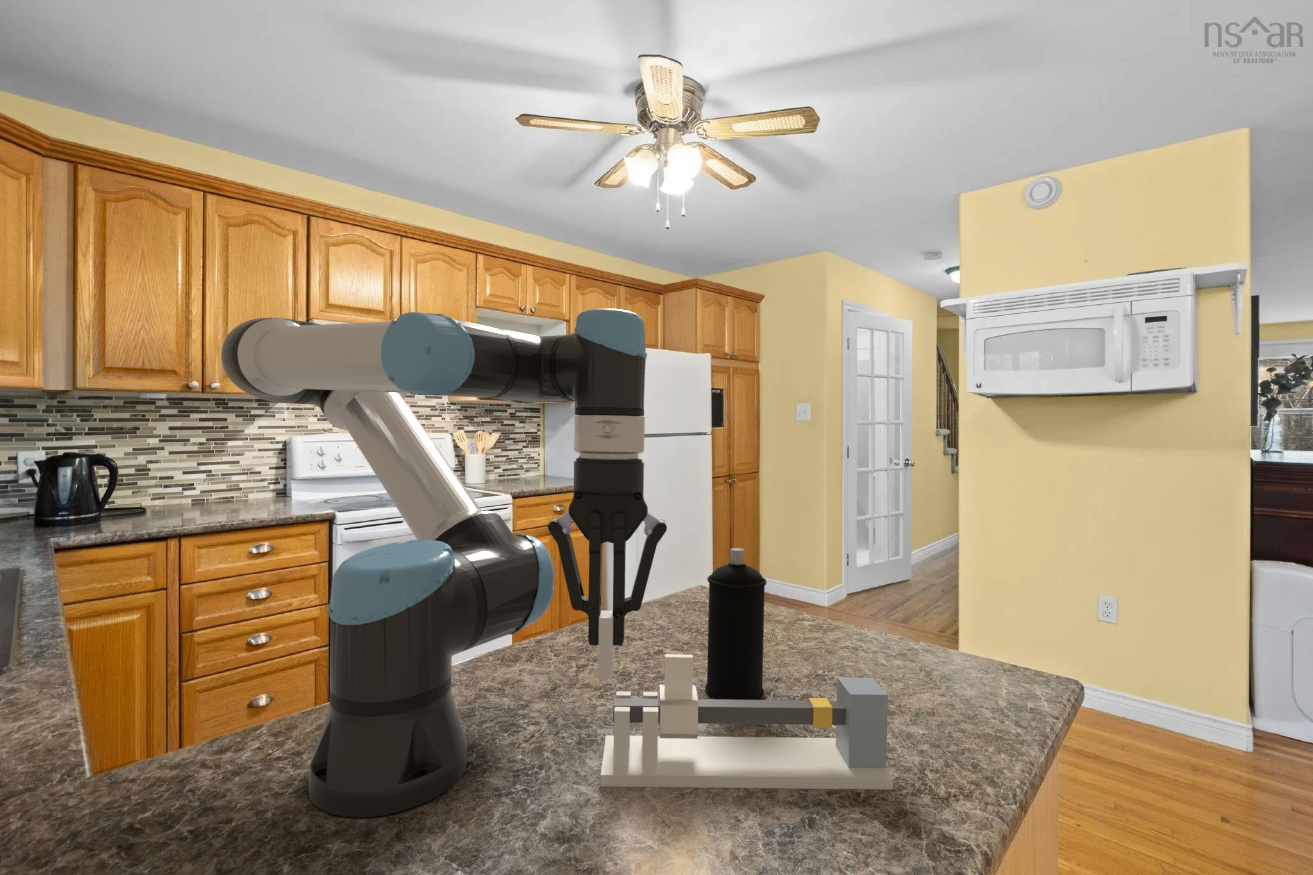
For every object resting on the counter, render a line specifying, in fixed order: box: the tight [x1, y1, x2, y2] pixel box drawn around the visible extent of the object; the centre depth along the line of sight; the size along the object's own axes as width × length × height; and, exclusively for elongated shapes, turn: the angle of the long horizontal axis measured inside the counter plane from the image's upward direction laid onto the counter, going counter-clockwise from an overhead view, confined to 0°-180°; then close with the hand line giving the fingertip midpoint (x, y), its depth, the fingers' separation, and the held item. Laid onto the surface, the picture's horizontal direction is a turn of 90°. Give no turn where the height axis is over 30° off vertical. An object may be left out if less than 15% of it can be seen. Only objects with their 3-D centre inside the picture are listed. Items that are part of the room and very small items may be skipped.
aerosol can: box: [704, 547, 768, 700], centre depth 85 cm, size 8×8×20 cm
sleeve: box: [658, 653, 699, 739], centre depth 66 cm, size 4×4×8 cm
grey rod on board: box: [599, 676, 894, 791], centre depth 66 cm, size 30×8×9 cm, turn 91°
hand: (605, 673), depth 66 cm, fingers closed
